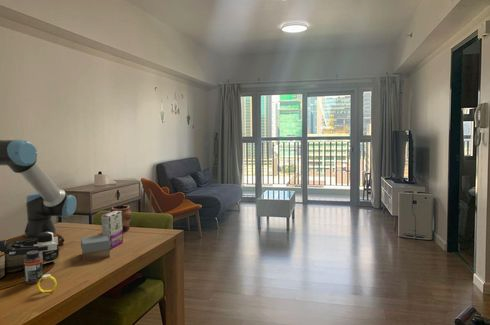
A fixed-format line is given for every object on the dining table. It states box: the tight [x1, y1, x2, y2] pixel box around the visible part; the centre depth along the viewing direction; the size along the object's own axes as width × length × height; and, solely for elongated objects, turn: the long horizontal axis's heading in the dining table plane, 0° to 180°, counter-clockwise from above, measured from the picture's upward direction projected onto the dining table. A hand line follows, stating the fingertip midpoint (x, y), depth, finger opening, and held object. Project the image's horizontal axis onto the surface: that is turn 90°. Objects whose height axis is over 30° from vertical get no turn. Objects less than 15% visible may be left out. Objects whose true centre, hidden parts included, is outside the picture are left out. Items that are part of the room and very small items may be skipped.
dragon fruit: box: [53, 232, 65, 248], centre depth 175 cm, size 8×8×12 cm
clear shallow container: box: [81, 249, 111, 262], centre depth 166 cm, size 11×11×4 cm
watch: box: [36, 273, 58, 294], centre depth 128 cm, size 6×3×6 cm, turn 100°
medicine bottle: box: [33, 232, 60, 265], centre depth 156 cm, size 7×7×12 cm
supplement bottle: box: [23, 251, 44, 285], centre depth 137 cm, size 6×6×11 cm
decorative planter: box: [109, 204, 132, 232], centre depth 207 cm, size 20×12×14 cm, turn 9°
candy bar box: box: [100, 211, 124, 250], centre depth 180 cm, size 11×5×16 cm, turn 168°
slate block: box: [80, 234, 111, 253], centre depth 166 cm, size 11×11×4 cm
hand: (57, 242), depth 158 cm, fingers closed on medicine bottle, 10 cm apart
